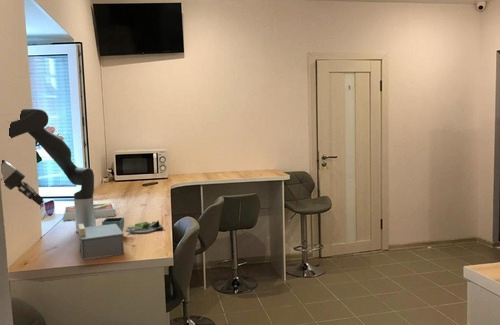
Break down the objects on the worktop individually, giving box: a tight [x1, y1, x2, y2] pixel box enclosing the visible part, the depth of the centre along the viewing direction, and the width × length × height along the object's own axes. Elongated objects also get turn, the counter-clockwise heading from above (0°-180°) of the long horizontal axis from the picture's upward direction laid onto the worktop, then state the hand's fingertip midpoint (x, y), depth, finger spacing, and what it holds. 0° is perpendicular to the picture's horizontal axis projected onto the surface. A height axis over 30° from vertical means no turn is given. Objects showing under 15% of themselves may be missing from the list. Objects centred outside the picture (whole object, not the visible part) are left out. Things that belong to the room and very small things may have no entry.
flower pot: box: [101, 217, 125, 233], centre depth 201 cm, size 9×9×9 cm
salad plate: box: [125, 220, 164, 234], centre depth 215 cm, size 19×18×5 cm
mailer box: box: [78, 234, 124, 261], centre depth 180 cm, size 16×20×8 cm
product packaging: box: [63, 202, 116, 222], centre depth 255 cm, size 22×28×5 cm
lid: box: [77, 224, 125, 241], centre depth 179 cm, size 17×21×4 cm
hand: (41, 202), depth 168 cm, fingers open, 8 cm apart
